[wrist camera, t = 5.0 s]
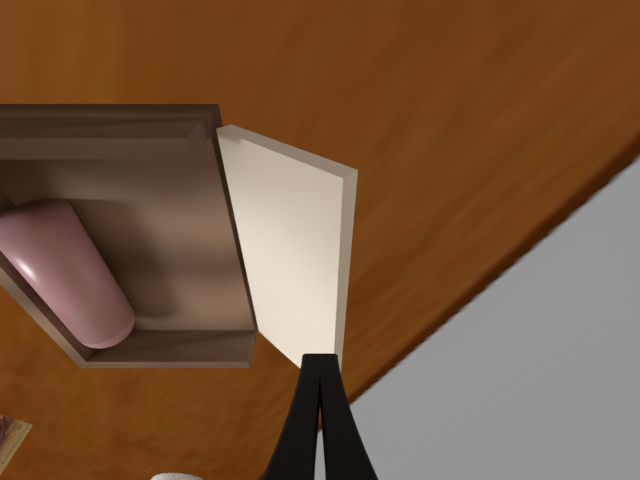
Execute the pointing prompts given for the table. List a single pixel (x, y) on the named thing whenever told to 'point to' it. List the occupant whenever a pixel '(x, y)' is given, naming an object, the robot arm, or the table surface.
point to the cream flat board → (292, 239)
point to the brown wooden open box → (138, 225)
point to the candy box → (11, 437)
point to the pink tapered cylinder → (66, 270)
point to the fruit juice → (175, 476)
